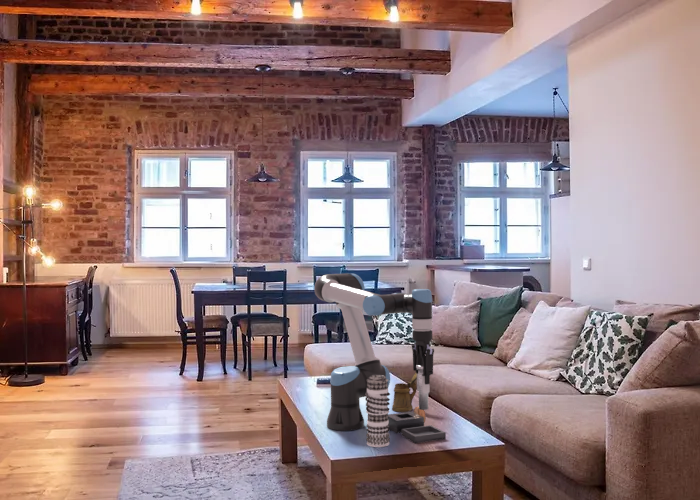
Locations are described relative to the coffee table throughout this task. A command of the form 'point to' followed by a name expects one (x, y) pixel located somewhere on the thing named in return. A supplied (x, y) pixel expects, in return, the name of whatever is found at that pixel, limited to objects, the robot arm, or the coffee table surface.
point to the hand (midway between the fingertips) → (423, 391)
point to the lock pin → (422, 396)
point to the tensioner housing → (406, 420)
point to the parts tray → (423, 434)
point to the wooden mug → (404, 396)
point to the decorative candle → (377, 411)
